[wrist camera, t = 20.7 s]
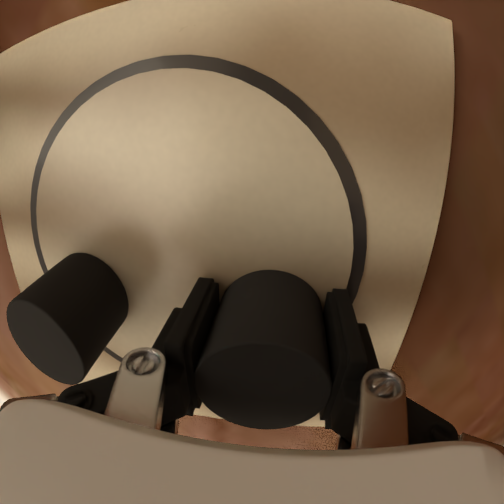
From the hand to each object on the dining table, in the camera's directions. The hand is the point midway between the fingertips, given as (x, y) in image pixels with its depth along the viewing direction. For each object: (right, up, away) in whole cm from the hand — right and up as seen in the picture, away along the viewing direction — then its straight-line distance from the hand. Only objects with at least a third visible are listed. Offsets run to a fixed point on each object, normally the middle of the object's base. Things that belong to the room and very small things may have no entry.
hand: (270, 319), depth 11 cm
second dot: (0, 0, 0) cm, 0 cm away
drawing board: (-4, +3, 0) cm, 5 cm away
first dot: (-8, +1, +1) cm, 8 cm away
